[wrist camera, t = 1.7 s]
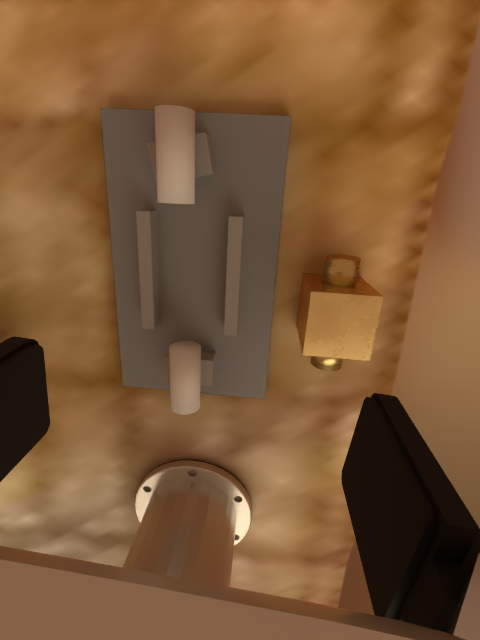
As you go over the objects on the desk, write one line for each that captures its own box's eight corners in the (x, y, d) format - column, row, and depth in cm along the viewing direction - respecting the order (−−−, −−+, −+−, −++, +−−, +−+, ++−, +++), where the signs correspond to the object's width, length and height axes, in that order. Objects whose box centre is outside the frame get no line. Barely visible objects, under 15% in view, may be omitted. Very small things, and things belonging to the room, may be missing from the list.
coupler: (347, 350, 29) (364, 384, 24) (294, 346, 29) (299, 378, 24) (365, 253, 26) (389, 267, 21) (305, 249, 26) (315, 262, 21)
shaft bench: (264, 391, 31) (263, 428, 26) (128, 379, 32) (102, 412, 27) (289, 119, 23) (295, 99, 18) (108, 111, 24) (67, 90, 19)
